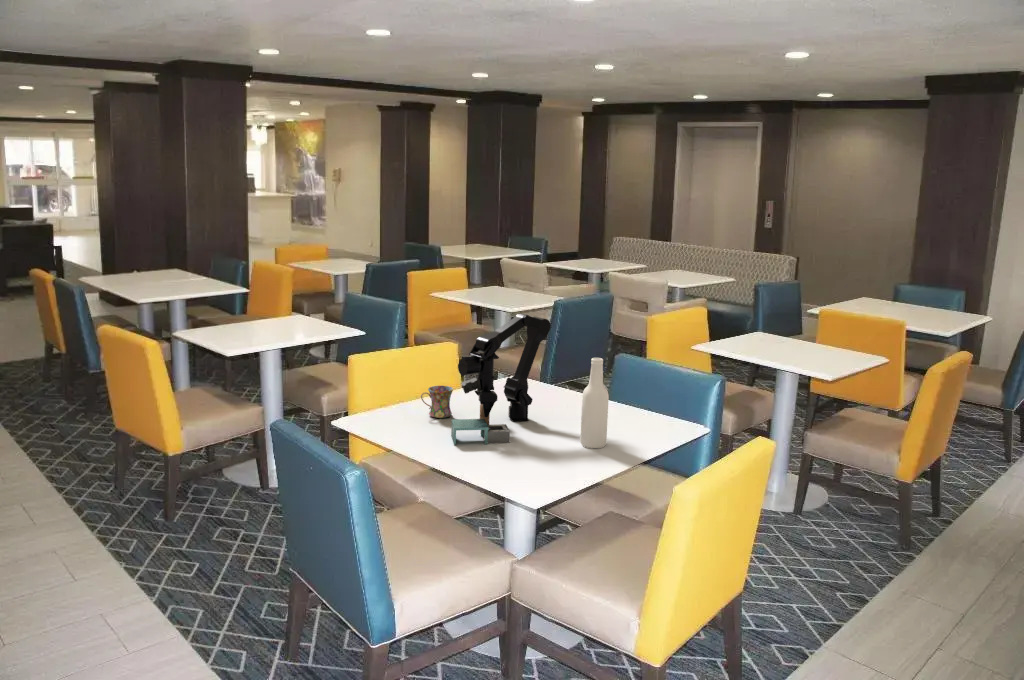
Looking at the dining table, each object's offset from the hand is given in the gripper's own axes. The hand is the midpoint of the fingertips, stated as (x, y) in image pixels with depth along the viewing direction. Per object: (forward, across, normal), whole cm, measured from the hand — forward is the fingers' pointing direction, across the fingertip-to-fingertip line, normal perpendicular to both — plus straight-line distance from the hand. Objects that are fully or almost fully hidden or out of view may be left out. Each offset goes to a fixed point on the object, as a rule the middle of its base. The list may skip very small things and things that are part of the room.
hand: (484, 414), depth 299 cm
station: (+4, +15, -4) cm, 16 cm away
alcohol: (+5, +24, +34) cm, 42 cm away
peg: (+5, 0, 0) cm, 5 cm away
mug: (+5, -14, -16) cm, 22 cm away
